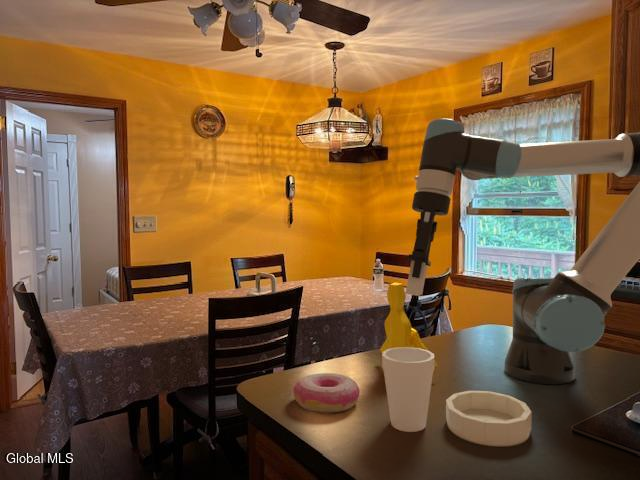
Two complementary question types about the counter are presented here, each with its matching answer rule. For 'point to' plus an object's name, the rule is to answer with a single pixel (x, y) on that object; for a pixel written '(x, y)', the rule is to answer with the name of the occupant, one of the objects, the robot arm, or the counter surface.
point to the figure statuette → (399, 322)
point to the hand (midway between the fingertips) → (414, 294)
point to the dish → (488, 418)
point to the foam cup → (408, 386)
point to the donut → (326, 392)
